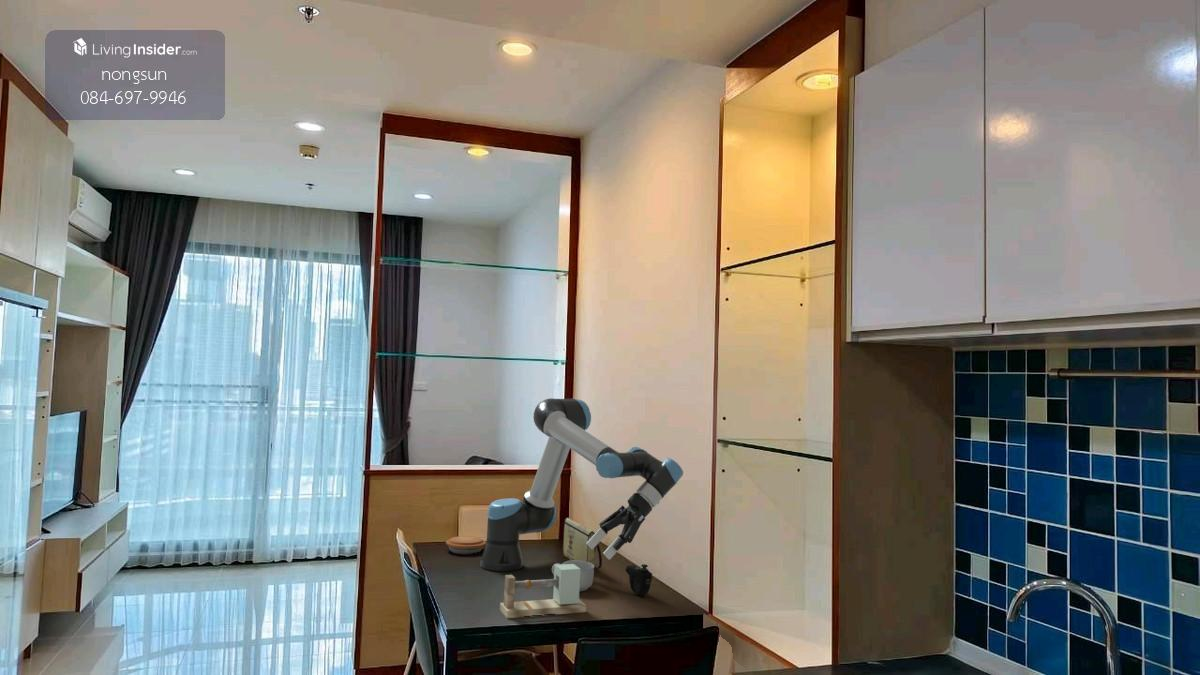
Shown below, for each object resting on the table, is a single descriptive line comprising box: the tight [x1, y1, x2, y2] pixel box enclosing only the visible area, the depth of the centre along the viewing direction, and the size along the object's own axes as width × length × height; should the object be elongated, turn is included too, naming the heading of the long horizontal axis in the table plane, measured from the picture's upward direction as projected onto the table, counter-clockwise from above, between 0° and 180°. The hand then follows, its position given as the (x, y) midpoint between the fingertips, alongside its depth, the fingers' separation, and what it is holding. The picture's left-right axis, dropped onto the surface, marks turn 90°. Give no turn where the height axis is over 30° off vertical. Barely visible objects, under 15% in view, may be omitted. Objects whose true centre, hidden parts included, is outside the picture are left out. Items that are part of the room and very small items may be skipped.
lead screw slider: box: [499, 574, 587, 619], centre depth 220 cm, size 24×8×10 cm, turn 112°
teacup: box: [551, 560, 595, 592], centre depth 245 cm, size 14×11×8 cm
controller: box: [625, 563, 653, 596], centre depth 242 cm, size 4×12×10 cm, turn 27°
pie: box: [445, 535, 487, 555], centre depth 291 cm, size 15×16×5 cm
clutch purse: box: [562, 517, 603, 569], centre depth 278 cm, size 30×7×15 cm, turn 23°
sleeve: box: [552, 563, 580, 605], centre depth 223 cm, size 6×6×10 cm
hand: (597, 551), depth 227 cm, fingers open, 13 cm apart
